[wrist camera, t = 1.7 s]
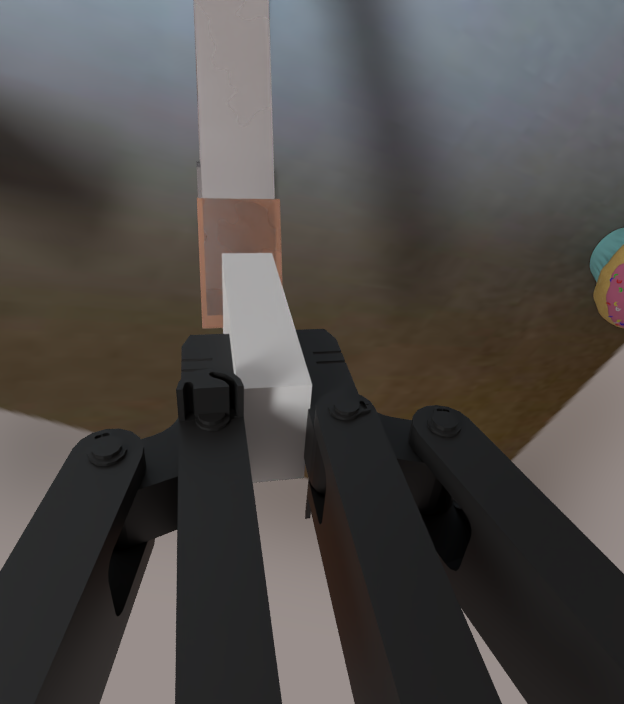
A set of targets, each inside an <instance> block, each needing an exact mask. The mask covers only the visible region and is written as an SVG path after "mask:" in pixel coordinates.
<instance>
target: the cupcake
mask: <svg viewBox="0 0 624 704" xmlns="http://www.w3.org/2000/svg"><path fill="white" fill-rule="evenodd" d="M590 270H591V273H592V275H593V276H594V278H595V280H596V282H597V284H596V287H595V290H594V294H593V297H594V301H595V303H596V305H597V308H598V311H599V314H600V315H601V316H602V317H603V318H604V319H605V320H607V321H608V322H610V323H611V324H613V325H615V326H617V327H620V328H624V228H620V229H617V230H615V231H613V232H611V233H610V234H608V235H607V236H606V237H604V238H603V239H602V240H601V241H600V242H599V244H598V245H597V246H596V248H595V249H594V251H593V253H592V256H591V259H590Z"/></svg>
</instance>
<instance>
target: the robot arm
mask: <svg viewBox="0 0 624 704" xmlns="http://www.w3.org/2000/svg"><path fill="white" fill-rule="evenodd" d="M222 289H223V333H224V334H210V335H190V336H189V338H188V339H187V340H186V342H185V343H184V344H183V346H182V369H181V370H182V372H181V380H180V381H179V383H178V386H177V389H176V393H177V405H178V419H177V421H176V422H175V423H174V424H173V425H172V426H171V427H170V428H168V429H166V430H165V431H163V432H161V433H159V434H156V435H154V436H151V437H147V438H144V439H140V437H138V436H137V435H135V434H134V433H133V432H131V431H127V430H123V429H105V430H102V431H98V432H95V433H92V434H90V435H88V436H87V437H85V438H83V439H82V440H80V441H79V442H78V443H77V445H76V446H75V447H74V448H73V449H72V451H71V453H70V454H69V456H68V458H67V459H66V461H65V463H64V464H63V466H62V468H61V470H60V471H59V473H58V475H57V476H56V478H55V480H54V481H53V483H52V485H51V486H50V488H49V490H48V491H47V493H46V495H45V497H44V498H43V500H42V502H41V503H40V505H39V507H38V508H37V510H36V512H35V514H34V515H33V517H32V519H31V520H30V522H29V524H28V525H27V527H26V529H25V530H24V532H23V534H22V535H21V537H20V539H19V541H18V542H17V544H16V546H15V547H14V549H13V551H12V553H11V554H10V556H9V558H8V559H7V561H6V563H5V564H4V566H3V568H2V569H1V571H0V704H100V701H101V698H102V695H103V692H104V689H105V686H106V683H107V680H108V677H109V674H110V672H111V669H112V665H113V663H114V660H115V657H116V654H117V651H118V648H119V645H120V642H121V639H122V637H123V634H124V630H125V627H126V624H127V622H128V619H129V616H130V613H131V610H132V607H133V604H134V602H135V598H136V596H137V593H138V590H139V587H140V584H141V581H142V578H143V575H144V572H145V569H146V567H147V564H148V561H149V558H150V555H151V552H152V549H153V546H154V542H155V538H157V537H159V536H162V535H164V534H167V533H169V532H172V531H174V530H178V531H177V606H176V607H177V608H176V610H177V611H176V683H175V687H176V688H175V704H282V700H281V692H280V685H279V677H278V670H277V662H276V656H275V647H274V640H273V632H272V625H271V617H270V610H269V602H268V595H267V587H266V580H265V573H264V565H263V557H262V550H261V542H260V535H259V528H258V520H257V512H256V505H255V498H254V490H253V483H254V482H264V481H276V480H287V479H298V478H304V469H305V464H306V469H307V473H308V477H309V480H308V491H307V500H306V511H305V519H307V518H310V514H312V518H313V522H314V527H315V531H316V535H317V540H318V544H319V549H320V553H321V557H322V562H323V566H324V571H325V575H326V579H327V583H328V588H329V592H330V597H331V601H332V606H333V610H334V615H335V618H336V623H337V628H338V632H339V636H340V641H341V645H342V649H343V654H344V658H345V663H346V667H347V671H348V676H349V680H350V685H351V689H352V694H353V698H354V702H355V704H502V703H501V701H500V698H499V696H498V694H497V691H496V689H495V687H494V684H493V682H492V680H491V677H490V675H489V673H488V670H487V668H486V666H485V663H484V661H483V659H482V656H481V654H480V652H479V649H478V647H477V645H476V642H475V640H474V638H473V635H472V633H471V631H470V628H469V626H468V624H467V621H466V619H465V617H464V614H463V612H462V610H463V611H464V613H465V614H466V616H467V617H468V618H469V620H470V621H471V623H472V624H473V626H474V627H475V628H476V630H477V631H478V633H479V634H480V636H481V637H482V639H483V640H484V641H485V643H486V644H487V646H488V647H489V649H490V650H491V651H492V653H493V654H494V656H495V657H496V659H497V660H498V662H499V663H500V664H501V666H502V667H503V669H504V670H505V672H506V673H507V674H508V676H509V677H510V679H511V680H512V682H513V683H514V685H515V686H516V687H517V689H518V690H519V692H520V693H521V695H522V696H523V697H524V699H525V700H526V702H527V703H528V704H624V574H623V573H622V572H621V571H620V570H619V569H618V568H617V567H616V566H615V565H614V564H613V563H612V562H611V561H610V560H609V559H608V558H607V557H606V556H605V555H604V554H603V553H602V552H601V551H600V550H599V549H598V548H597V547H596V546H595V545H594V544H593V543H592V542H591V541H590V540H589V539H588V538H587V537H586V536H585V535H584V534H583V533H582V532H581V531H580V530H579V529H578V528H577V527H576V526H575V525H574V524H573V523H572V522H571V521H570V520H569V519H568V518H567V517H566V516H565V515H564V514H563V513H562V512H561V511H560V510H559V509H558V508H557V507H556V506H555V505H554V504H553V503H552V502H551V501H550V500H549V499H548V498H547V497H546V496H545V495H544V494H543V493H542V492H541V491H540V490H539V489H538V488H537V487H536V486H535V485H534V484H533V483H532V482H531V481H530V480H529V479H528V478H527V477H526V476H525V475H524V474H523V473H522V472H521V471H520V470H519V469H518V468H517V467H516V466H515V465H514V464H513V463H512V462H511V460H510V459H509V458H508V457H507V456H506V455H505V454H504V453H503V452H502V451H501V450H500V449H499V448H498V447H497V446H496V445H495V444H494V443H493V442H492V441H491V440H490V439H489V438H488V437H487V436H486V435H485V434H484V433H483V432H482V431H481V430H480V429H479V428H478V427H477V426H476V425H475V424H474V423H473V422H472V421H471V420H470V419H469V418H467V417H466V416H465V415H463V414H462V413H461V412H459V411H457V410H454V409H452V408H449V407H444V406H438V405H435V406H426V407H423V408H421V409H419V410H417V412H416V413H415V414H414V416H413V419H412V420H406V419H400V418H394V417H389V416H385V415H382V414H380V413H377V412H376V409H375V407H374V406H373V405H372V403H371V402H370V401H369V400H367V399H366V398H364V397H363V396H361V395H359V394H358V392H357V389H356V387H355V384H354V382H353V379H352V377H351V374H350V372H349V369H348V367H347V365H346V363H345V360H344V357H343V355H342V353H341V350H340V347H339V345H338V343H337V340H336V339H335V338H334V337H333V336H332V335H331V334H330V333H328V332H327V331H326V330H325V329H308V330H295V327H294V324H293V320H292V317H291V314H290V310H289V307H288V304H287V301H286V297H285V294H284V291H283V288H282V284H281V281H280V278H279V274H278V271H277V268H276V265H275V261H274V258H273V255H272V253H222ZM461 608H462V610H461Z"/></svg>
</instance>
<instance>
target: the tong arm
mask: <svg viewBox="0 0 624 704" xmlns="http://www.w3.org/2000/svg"><path fill="white" fill-rule="evenodd" d="M194 11H195V36H196V60H197V84H198V108H199V133H200V157H201V181H202V198H197V210H198V234H199V258H200V281H201V305H202V328H223V289H222V253H272V255H273V258H274V261H275V265H276V268H277V271H278V274H279V278H280V281H281V284H282V257H281V223H280V199H275V191H274V158H273V125H272V92H271V59H270V26H269V0H194Z"/></svg>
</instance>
